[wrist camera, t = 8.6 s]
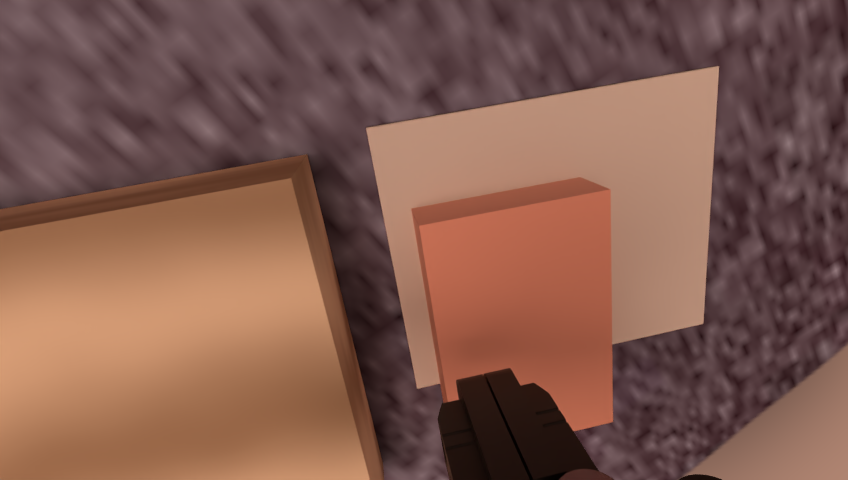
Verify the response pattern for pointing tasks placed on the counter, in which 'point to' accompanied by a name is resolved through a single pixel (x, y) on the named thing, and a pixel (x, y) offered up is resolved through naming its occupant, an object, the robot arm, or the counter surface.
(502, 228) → the salmon orange flat block
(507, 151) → the mat
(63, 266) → the wooden block
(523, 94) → the counter surface
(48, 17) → the counter surface
